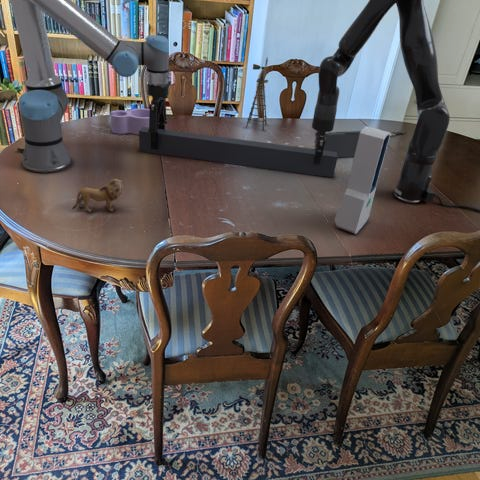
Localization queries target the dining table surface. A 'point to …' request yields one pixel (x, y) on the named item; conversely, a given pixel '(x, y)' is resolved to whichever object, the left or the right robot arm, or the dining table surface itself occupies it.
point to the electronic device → (362, 179)
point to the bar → (239, 152)
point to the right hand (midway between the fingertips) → (316, 160)
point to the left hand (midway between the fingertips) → (158, 144)
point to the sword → (396, 133)
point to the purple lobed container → (129, 120)
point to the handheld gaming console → (342, 143)
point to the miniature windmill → (257, 67)
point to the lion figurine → (100, 194)
